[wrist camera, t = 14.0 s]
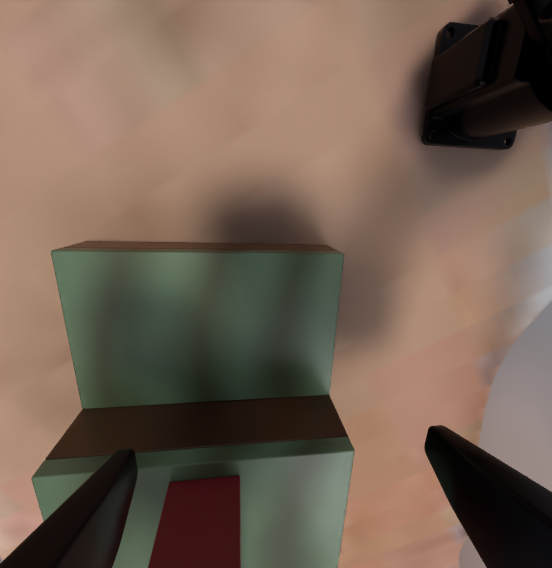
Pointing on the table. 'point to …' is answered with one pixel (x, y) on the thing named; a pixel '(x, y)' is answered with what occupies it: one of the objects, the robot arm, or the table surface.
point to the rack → (208, 387)
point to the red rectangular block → (199, 525)
